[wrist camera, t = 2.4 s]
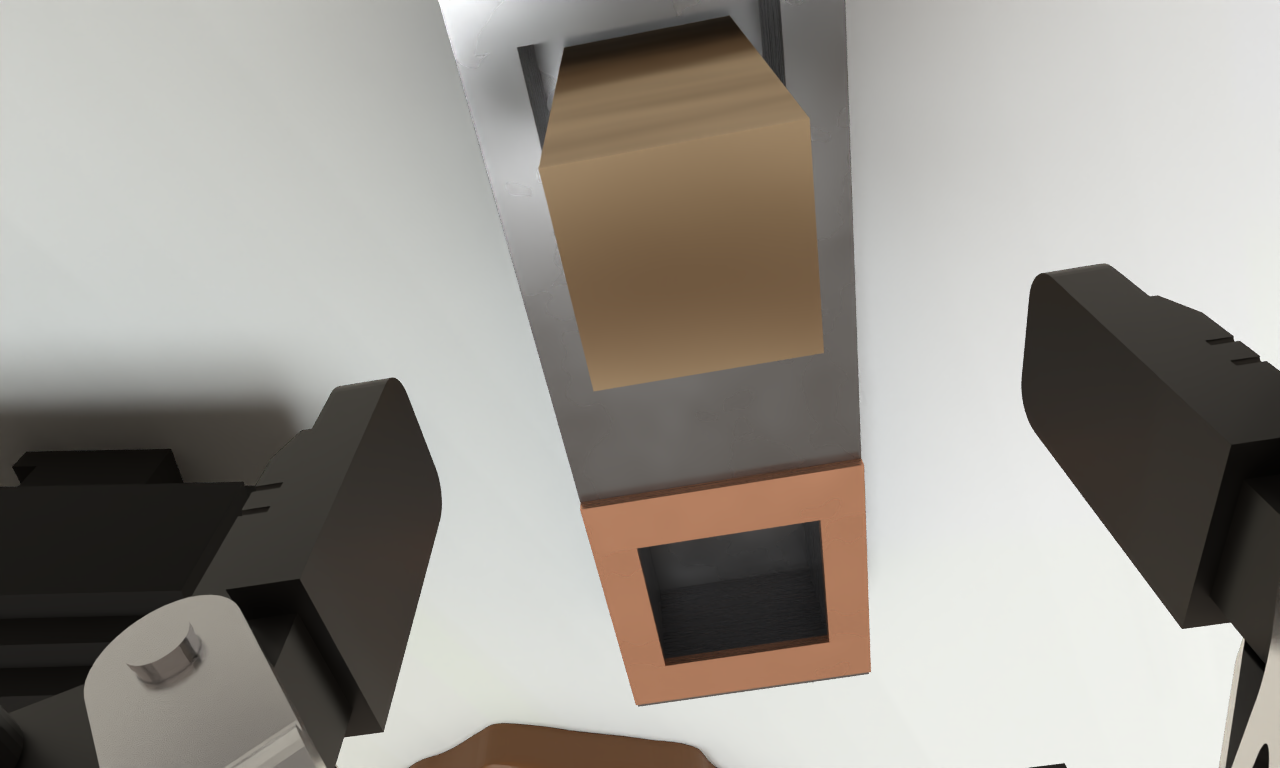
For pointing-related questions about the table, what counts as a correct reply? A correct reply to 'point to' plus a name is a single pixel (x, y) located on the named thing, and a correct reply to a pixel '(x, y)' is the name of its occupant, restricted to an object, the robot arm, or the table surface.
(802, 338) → the brown upright block
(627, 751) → the plant
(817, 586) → the rail
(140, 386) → the table surface
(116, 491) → the security camera
